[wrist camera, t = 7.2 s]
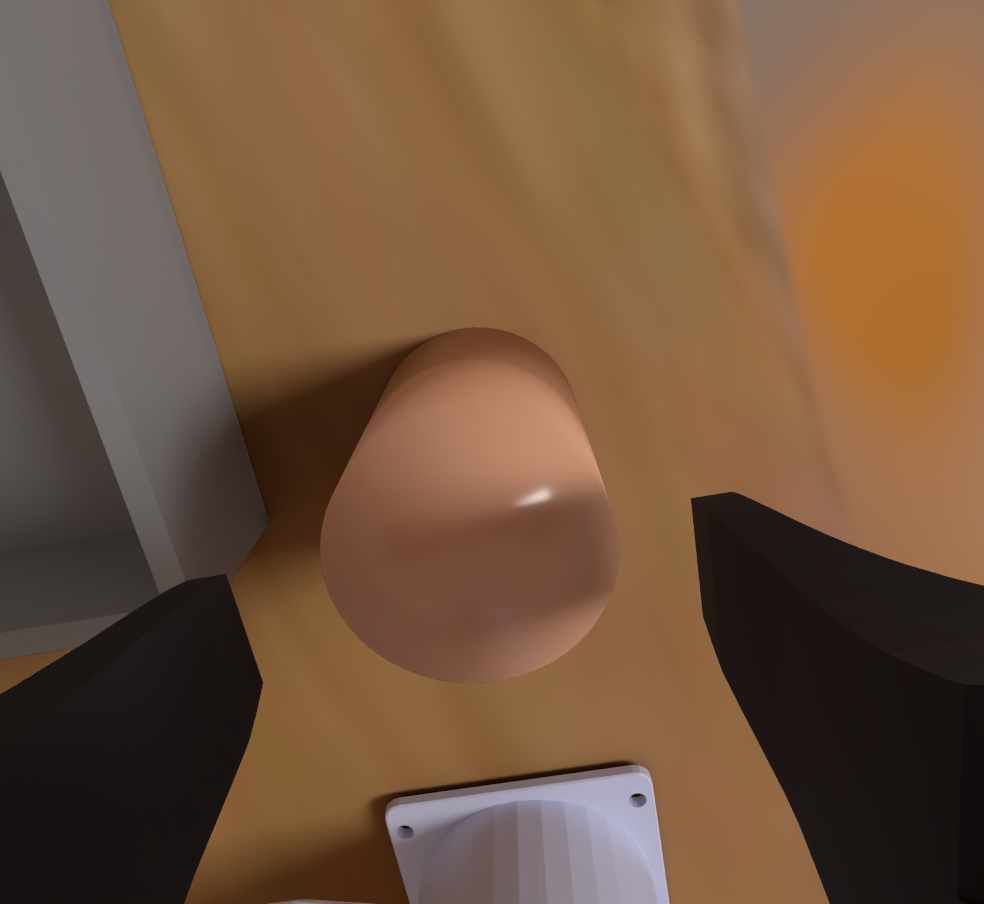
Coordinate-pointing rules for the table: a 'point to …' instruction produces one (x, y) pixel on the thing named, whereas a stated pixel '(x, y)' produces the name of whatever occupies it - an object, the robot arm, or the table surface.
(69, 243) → the box
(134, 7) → the table surface
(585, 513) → the brown egg
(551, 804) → the robot arm
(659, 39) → the table surface
